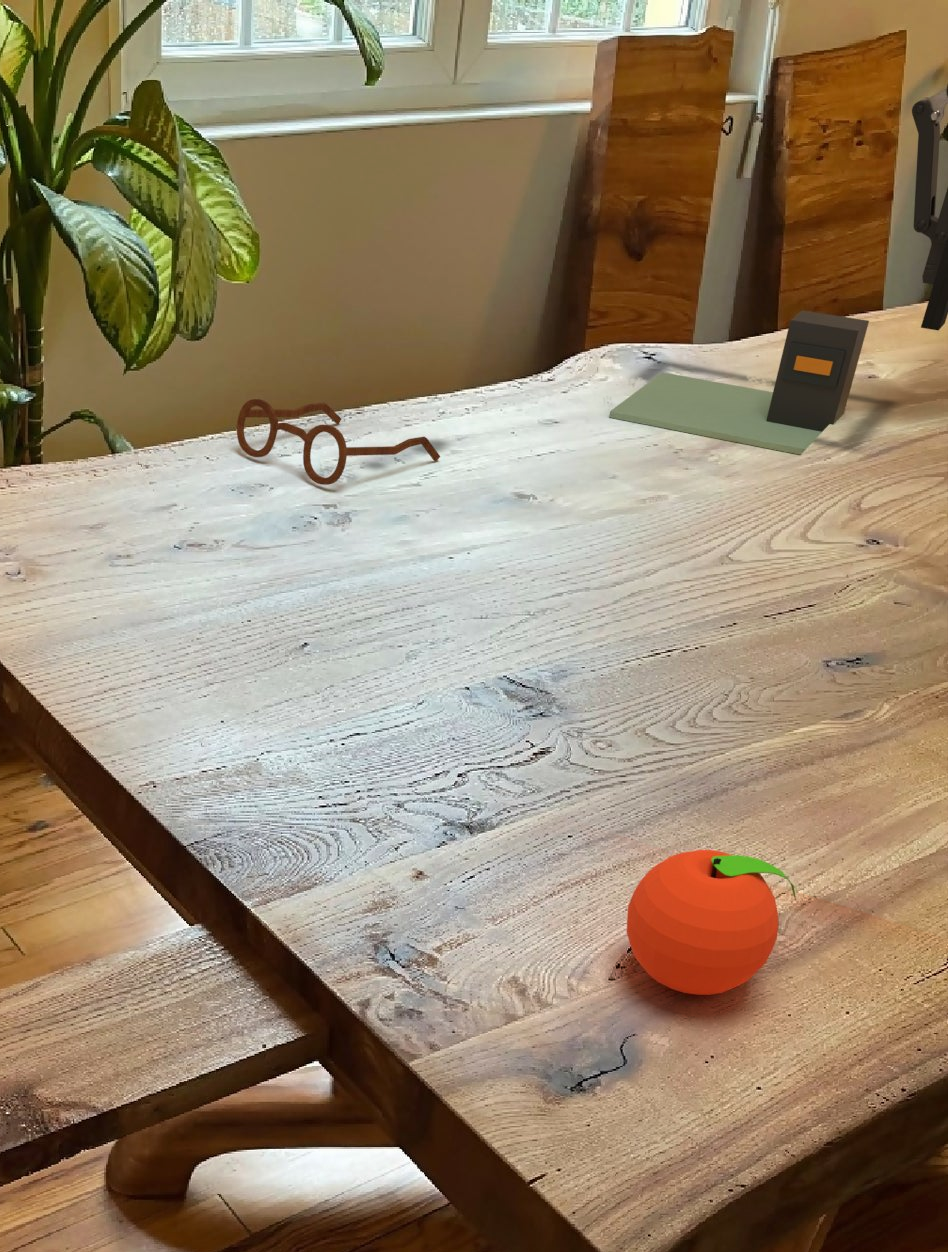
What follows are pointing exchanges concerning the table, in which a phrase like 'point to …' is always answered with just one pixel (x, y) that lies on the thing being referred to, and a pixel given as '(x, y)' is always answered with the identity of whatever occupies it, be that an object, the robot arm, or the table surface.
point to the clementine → (704, 920)
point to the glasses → (309, 437)
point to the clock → (816, 370)
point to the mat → (712, 412)
